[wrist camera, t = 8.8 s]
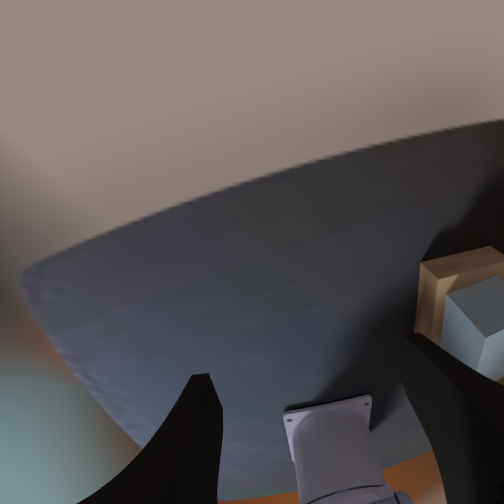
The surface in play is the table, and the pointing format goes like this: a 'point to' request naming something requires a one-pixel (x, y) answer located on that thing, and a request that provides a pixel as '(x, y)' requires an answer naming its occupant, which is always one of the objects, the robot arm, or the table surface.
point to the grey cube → (476, 326)
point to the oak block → (451, 284)
